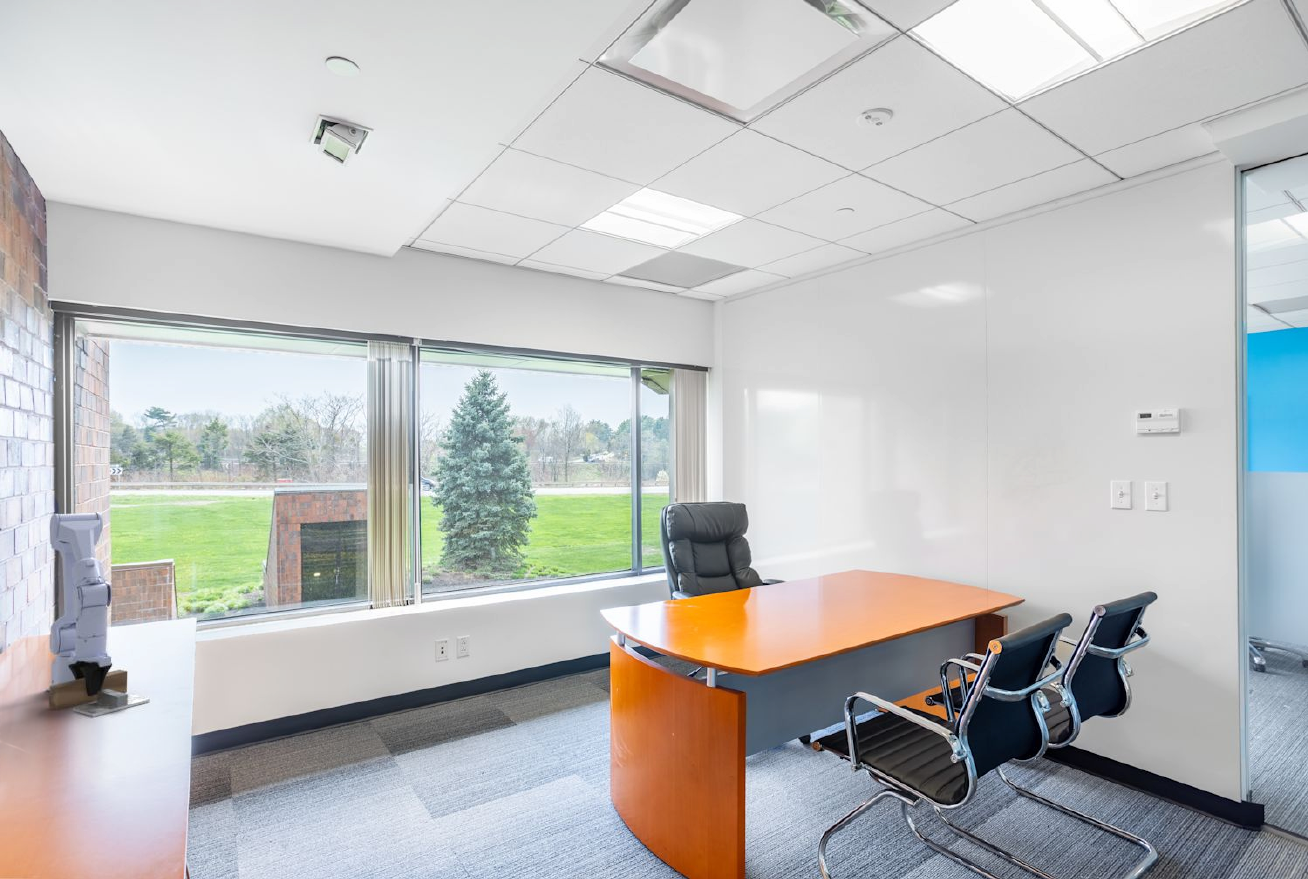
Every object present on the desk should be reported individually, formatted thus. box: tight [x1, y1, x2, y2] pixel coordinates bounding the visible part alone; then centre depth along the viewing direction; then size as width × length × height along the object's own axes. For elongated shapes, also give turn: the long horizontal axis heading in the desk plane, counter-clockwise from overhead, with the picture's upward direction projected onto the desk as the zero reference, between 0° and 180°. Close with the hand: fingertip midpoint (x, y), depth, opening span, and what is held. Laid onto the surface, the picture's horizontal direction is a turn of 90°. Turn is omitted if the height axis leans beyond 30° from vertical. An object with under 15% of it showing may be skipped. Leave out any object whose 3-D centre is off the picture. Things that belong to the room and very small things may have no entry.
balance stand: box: [72, 689, 151, 718], centre depth 155 cm, size 9×11×3 cm
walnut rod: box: [48, 669, 128, 711], centre depth 159 cm, size 4×14×5 cm, turn 156°
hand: (89, 693), depth 159 cm, fingers closed on walnut rod, 4 cm apart
